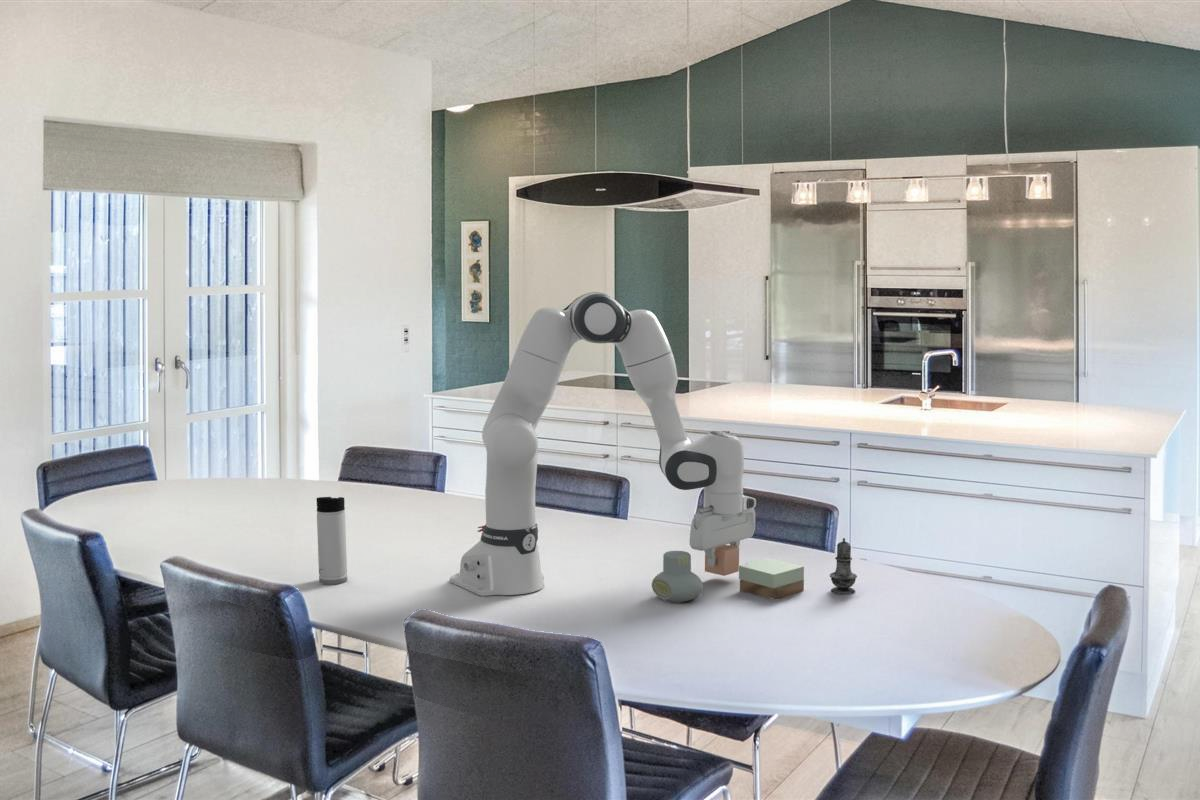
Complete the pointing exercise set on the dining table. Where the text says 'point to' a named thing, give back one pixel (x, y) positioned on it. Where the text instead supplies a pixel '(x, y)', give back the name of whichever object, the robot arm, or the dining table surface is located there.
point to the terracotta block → (724, 560)
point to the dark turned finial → (843, 570)
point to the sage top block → (771, 572)
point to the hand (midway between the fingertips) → (721, 562)
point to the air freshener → (677, 578)
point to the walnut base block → (771, 589)
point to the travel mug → (331, 540)
